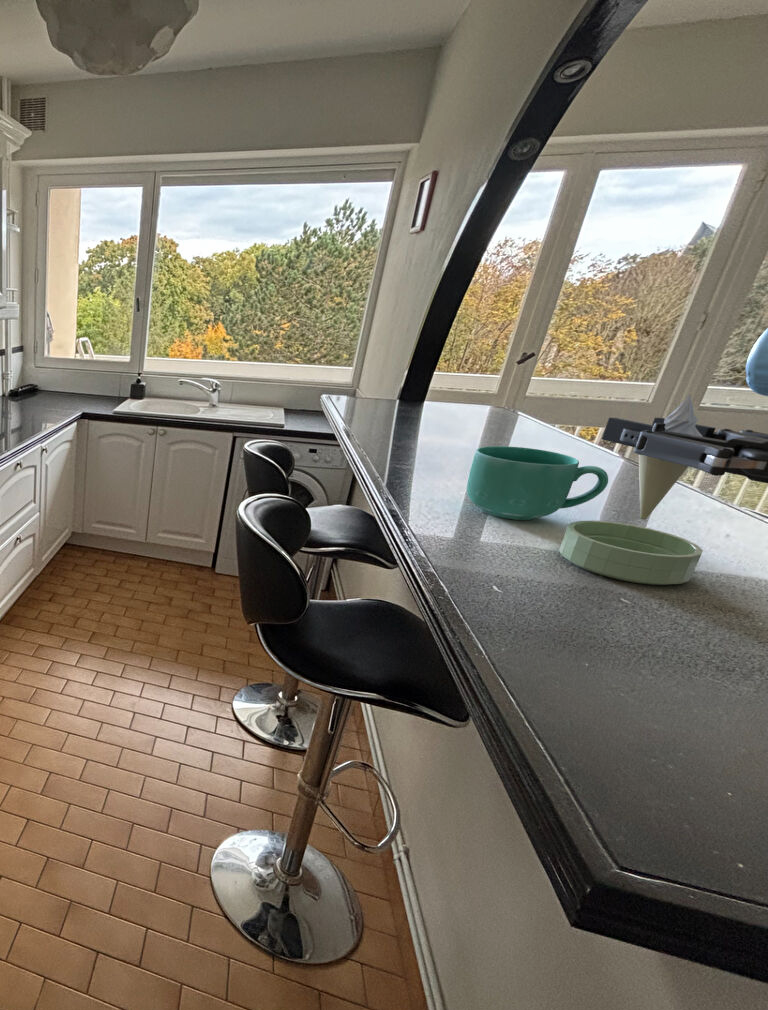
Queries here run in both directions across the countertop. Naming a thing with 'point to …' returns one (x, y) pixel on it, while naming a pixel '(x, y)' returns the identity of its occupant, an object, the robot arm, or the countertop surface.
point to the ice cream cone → (661, 473)
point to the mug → (526, 482)
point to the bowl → (630, 552)
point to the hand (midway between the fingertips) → (631, 428)
